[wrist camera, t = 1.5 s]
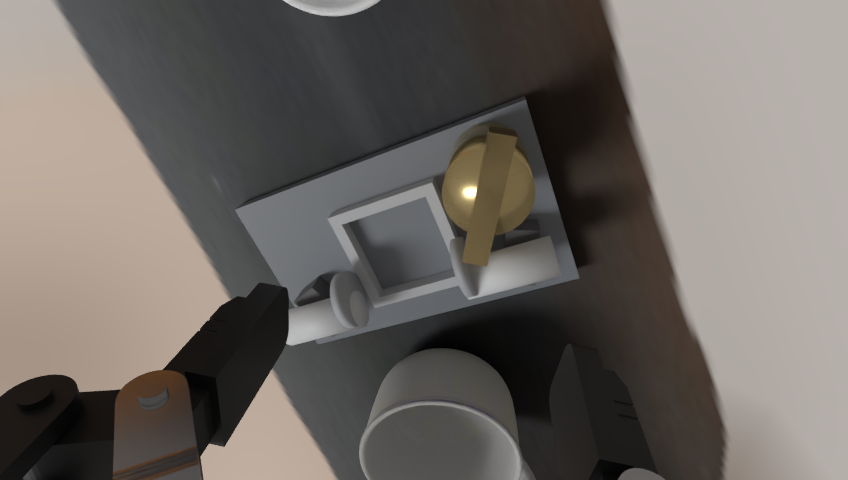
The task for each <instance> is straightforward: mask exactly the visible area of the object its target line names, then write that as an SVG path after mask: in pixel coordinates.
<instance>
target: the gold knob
mask: <svg viewBox="0 0 848 480" xmlns="http://www.w3.org/2000/svg"><path fill="white" fill-rule="evenodd" d="M442 200H443V205H444V208H445V210H446V212H447V214H448V215H449V217H450V218H451V220H452V221H453V222H454V223H455V224H456V225H457V226H459V227H460V228H462V229H463V230H465V231H467V237H466V242H465V247H464V253H463V261H462V262H464V263H469V264H475V265H480V266H486V267H487V264H488V260H489V255H490V251H491V247H492V243H493V238H494V236H496V235H501V234H504V233H507V232H509V231H511V230H513V229H515V228H516V227H518V226H519V225H520V224H521V223H522V222H523V221H524V220H525V219H526V218H527V216H528V215H529V213H530V211H531V209H532V207H533V204H534V200H535V184H534V180H533V176H532V172H531V168H530V164H529V160H528V156H527V153H526V149H525V146H524V143H523V141H522V140H521V138H520V137H519V135H518V134H517V133H516V130H512V129H511V128H509V127H507V126H505V125H502V124H499V123H493V122H487V123H480V124H477V125H474V126H472V127H470V128H469V129H467V130H466V131H465V132H463V133H462V134H461V135H460V137H459V138H458V139H457V141H456V143H455V144H454V147H453V150H452V153H451V157H450V160H449V164H448V167H447V171H446V175H445V178H444V182H443V186H442Z"/></svg>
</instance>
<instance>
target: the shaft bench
mask: <svg viewBox="0 0 848 480" xmlns="http://www.w3.org/2000/svg"><path fill="white" fill-rule="evenodd" d="M487 122H493V123H499V124H502V125H505V126H507V127H509V128H511V129H512V130H516V133H517V134H518V135H519V137H520V138H521V140H522V141H523V143H524V146H525V149H526V153H527V156H528V160H529V164H530V168H531V172H532V176H533V180H534V184H535V200H534V204H533V207H532V209H531V211H530V213H529V215H528V216H527V218H526V219H525V220H524V221H523V222H522V223H521V224H520V225H519V226H518V227H516V228H515V229H513V230H511V231H509V232H507V233H504V234H501V235H496V236H494V238H493V243H492V247H491V251H490V255H489V260H488V264H487V267H486V266H480V265H475V264H469V263H464V262H462V261H463V253H464V247H465V242H466V237H467V231H465V230H463V229H462V228H460V227H459V226H457V225H456V224H455V223H454V222H453V221H452V220H451V218H450V217H449V215H448V214H447V212H446V210H445V208H444V205H443V200H442V186H443V182H444V178H445V175H446V171H447V167H448V164H449V160H450V157H451V153H452V150H453V147H454V144H455V143H456V141H457V139H458V138H459V137H460V135H461V134H462V133H463V132H465V131H466V130H467V129H469V128H470V127H472V126H474V125H477V124H480V123H487ZM235 211H236V213H237V214H238V216H239V218H240V219H241V221H242V222H243V224H244V226H245V227H246V229H247V231H248V232H249V234H250V235H251V237H252V239H253V240H254V242H255V243H256V245H257V247H258V248H259V250H260V252H261V253H262V255H263V256H264V258H265V260H266V261H267V263H268V265H269V266H270V268H271V269H272V271H273V273H274V274H275V276H276V278H277V279H278V281H279V282H280V284H281V286H282V287H286V288H287V289H288V296H289V299H290V300H291V302H292V303H293V305H294V307H295V308H293V309H290V310H289V333H288V338H287V342H286V344H288V345H296V344H300V343H304V342H307V341H311V340H315V341H316V342H317V344H321V343H325V342H329V341H333V340H337V339H341V338H345V337H349V336H353V335H357V334H361V333H365V332H369V331H373V330H377V329H381V328H385V327H388V326H392V325H396V324H400V323H404V322H408V321H412V320H416V319H420V318H424V317H428V316H432V315H436V314H440V313H444V312H448V311H452V310H456V309H460V308H464V307H468V306H472V305H476V304H479V303H483V302H487V301H491V300H495V299H499V298H503V297H507V296H511V295H515V294H519V293H523V292H527V291H531V290H535V289H539V288H543V287H547V286H551V285H555V284H559V283H563V282H567V281H570V280H574V279H578V278H579V275H578V272H577V268H576V265H575V262H574V258H573V255H572V252H571V248H570V245H569V242H568V238H567V235H566V232H565V228H564V225H563V222H562V218H561V215H560V212H559V208H558V205H557V202H556V198H555V195H554V192H553V188H552V185H551V182H550V178H549V175H548V171H547V168H546V165H545V161H544V158H543V155H542V151H541V148H540V145H539V141H538V138H537V135H536V131H535V128H534V125H533V121H532V118H531V115H530V111H529V108H528V105H527V101H526V98H525V96H523V97H520V98H518V99H515V100H512V101H510V102H507V103H505V104H502V105H499V106H497V107H494V108H491V109H489V110H486V111H484V112H481V113H478V114H476V115H473V116H470V117H468V118H465V119H463V120H460V121H457V122H455V123H452V124H449V125H447V126H444V127H442V128H439V129H436V130H434V131H431V132H428V133H426V134H423V135H421V136H418V137H415V138H413V139H410V140H407V141H405V142H402V143H400V144H397V145H394V146H392V147H389V148H386V149H384V150H381V151H379V152H376V153H373V154H371V155H368V156H365V157H363V158H360V159H357V160H355V161H352V162H350V163H347V164H344V165H342V166H339V167H336V168H334V169H331V170H329V171H326V172H323V173H321V174H318V175H315V176H313V177H310V178H308V179H305V180H302V181H300V182H297V183H294V184H292V185H289V186H287V187H284V188H281V189H279V190H276V191H273V192H271V193H268V194H266V195H263V196H260V197H258V198H255V199H252V200H250V201H247V202H245V203H243V204H241V205H240V206H239V207H237V208H236V209H235Z"/></svg>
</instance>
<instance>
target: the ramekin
mask: <svg viewBox="0 0 848 480" xmlns="http://www.w3.org/2000/svg"><path fill="white" fill-rule="evenodd" d="M283 1H285V2H287V3H288V4H290V5H292V6H294V7H296V8H298V9H300V10H303V11H306V12H309V13H312V14H317V15H322V16H343V15H350V14H354V13H357V12H360V11H362V10H365V9H367V8H369V7H371V6H373V5H374V4H376V3H378V2H379V1H381V0H283Z"/></svg>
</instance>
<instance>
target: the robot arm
mask: <svg viewBox="0 0 848 480" xmlns="http://www.w3.org/2000/svg"><path fill="white" fill-rule="evenodd" d="M288 333H289V296H288V289H287V288H286V287H281V286H276V285H271V284H266V283H259V284H258V285H257V286H256V287H255V288H254V289H253V290H252V292H251V293H250V294H249V295H248V296H247V298H244V297H239V296H237V297H236V298H234V299H232V300H230V301H228V302H227V303H225V304H223V305H221V306H220V307H219V308H218V310H217V311H216V312H215V313H214V314H213V315H212V316H211V317H210V320H209V321H207V322H206V323H205V324H204V325H203V326H202V327H201V329H200V331H198V332H197V333H196V334H195V335H194V336H193V337H192V338H191V339H190V340H189V342H188V343H187V344H186V345H185V346H184V347H183V348H182V349H181V350H180V351H179V353H178V354H177V355H176V356H175V357H174V358H173V359H172V360H171V362H169V364H168V365H167V366H166V367H165V368H164V369H163V370H158V371H152V372H149V373H146V374H143V375H140V376H138V377H136V378H135V379H133V380H132V381H130V382H129V383H127V384H126V385H125V386H124V387H123V388H122V389H121V390H109V391H94V392H79V390H78V387H77V384H76V382H75V381H74V380H73V379H72V378H70V377H67V376H64V375H46V376H41V377H36V378H34V379H30V380H27V381H25V382H23V383H21V384H19V385H17V386H15V387H13V388H12V389H10V390H8V391H7V392H6V393H4V394H3V395H2V396H1V397H0V480H203V473H202V466H201V459H200V456H201V455H202V453H203V452H204V450H205V449H206V447H207V446H208V444H214V445H218V446H223V447H225V445H226V443H227V442H228V440H229V438H230V437H231V435H232V433H233V432H234V430H235V428H236V427H237V425H238V424H239V422H240V420H241V418H242V417H243V415H244V414H245V412H246V410H247V409H248V407H249V405H250V404H251V402H252V400H253V399H254V397H255V396H256V394H257V392H258V391H259V389H260V387H261V386H262V384H263V382H264V381H265V379H266V377H267V376H268V374H269V373H270V371H271V369H272V368H273V366H274V364H275V363H276V361H277V359H278V358H279V356H280V354H281V353H282V351H283V349H284V347H285V345H286V342H287V338H288ZM549 406H550V413H551V420H552V426H553V433H554V440H555V447H556V454H557V461H558V467H559V474H560V480H665V479H664V478H662V477H661V476H659V475H658V472H657V470H656V467H655V464H654V461H653V458H652V456H651V453H650V450H649V447H648V444H647V442H646V439H645V436H644V433H643V431H642V428H641V425H640V422H639V421H638V417H637V414H636V411H635V408H634V407H633V403H632V400H631V397H630V394H629V391H628V389H627V387H626V386H625V384H624V383H623V382H622V381H621V379H620V378H619V377H618V376H617V374H616V373H615V372H614V371H609V370H604V368H603V365H602V362H601V358H600V355H599V352H598V350H597V349H595V348H590V347H585V346H580V345H574V344H567V346H566V347H565V349H564V352H563V355H562V357H561V360H560V362H559V365H558V368H557V370H556V373H555V376H554V378H553V381H552V384H551V388H550V395H549Z"/></svg>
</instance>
